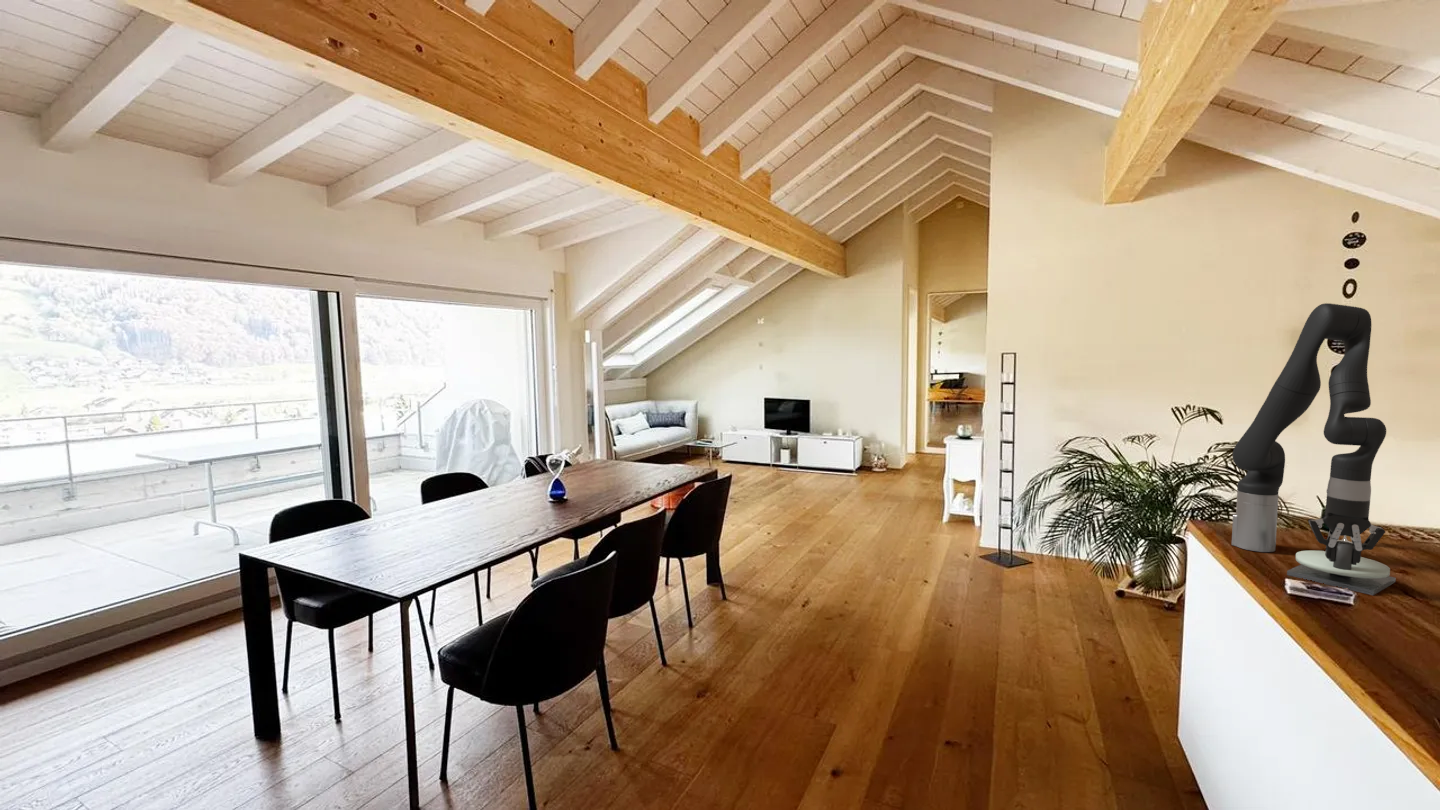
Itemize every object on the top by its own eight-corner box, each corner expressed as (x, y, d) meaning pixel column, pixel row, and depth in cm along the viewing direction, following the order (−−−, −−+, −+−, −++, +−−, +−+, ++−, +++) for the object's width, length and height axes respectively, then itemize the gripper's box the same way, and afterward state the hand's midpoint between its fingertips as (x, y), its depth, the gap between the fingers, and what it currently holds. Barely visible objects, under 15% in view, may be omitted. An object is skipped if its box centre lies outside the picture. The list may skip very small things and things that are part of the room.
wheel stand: (1287, 574, 159) (1287, 564, 159) (1311, 563, 166) (1311, 553, 166) (1373, 595, 145) (1373, 583, 145) (1395, 582, 152) (1396, 570, 152)
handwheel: (1296, 551, 167) (1297, 523, 167) (1386, 565, 155) (1388, 535, 155) (1295, 567, 155) (1296, 537, 155) (1392, 583, 143) (1395, 551, 143)
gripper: (1312, 495, 150) (1307, 561, 152) (1394, 503, 142) (1387, 572, 144) (1305, 489, 156) (1300, 552, 158) (1384, 496, 148) (1377, 563, 150)
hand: (1342, 562), depth 151 cm, fingers closed on handwheel, 3 cm apart
